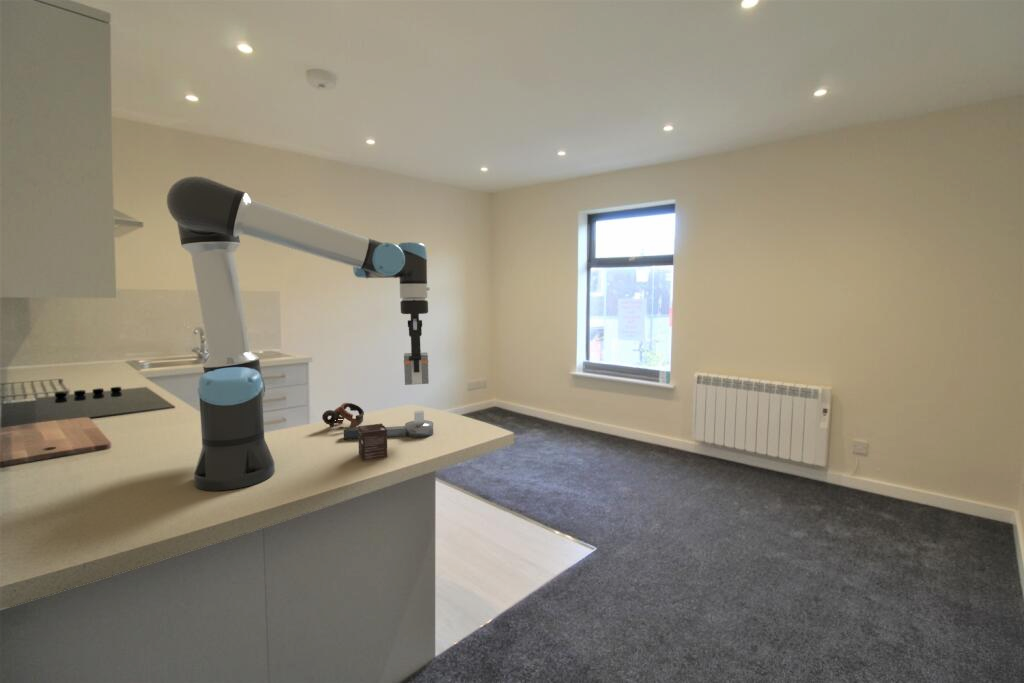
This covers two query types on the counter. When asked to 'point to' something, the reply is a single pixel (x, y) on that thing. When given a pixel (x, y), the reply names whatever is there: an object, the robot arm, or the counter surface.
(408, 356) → the orange-striped grey cube
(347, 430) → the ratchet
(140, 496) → the counter surface
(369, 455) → the box
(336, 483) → the counter surface
